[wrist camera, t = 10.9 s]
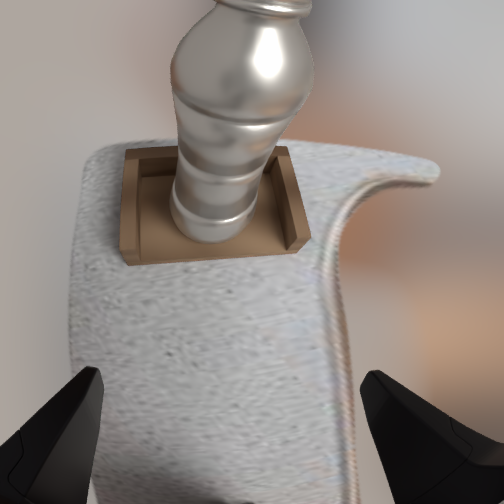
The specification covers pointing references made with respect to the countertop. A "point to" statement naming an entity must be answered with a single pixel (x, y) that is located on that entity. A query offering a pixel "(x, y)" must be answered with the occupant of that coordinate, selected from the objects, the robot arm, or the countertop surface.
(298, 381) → the countertop surface
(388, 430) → the robot arm
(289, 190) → the bottle stand
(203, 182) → the silver metal bottle
